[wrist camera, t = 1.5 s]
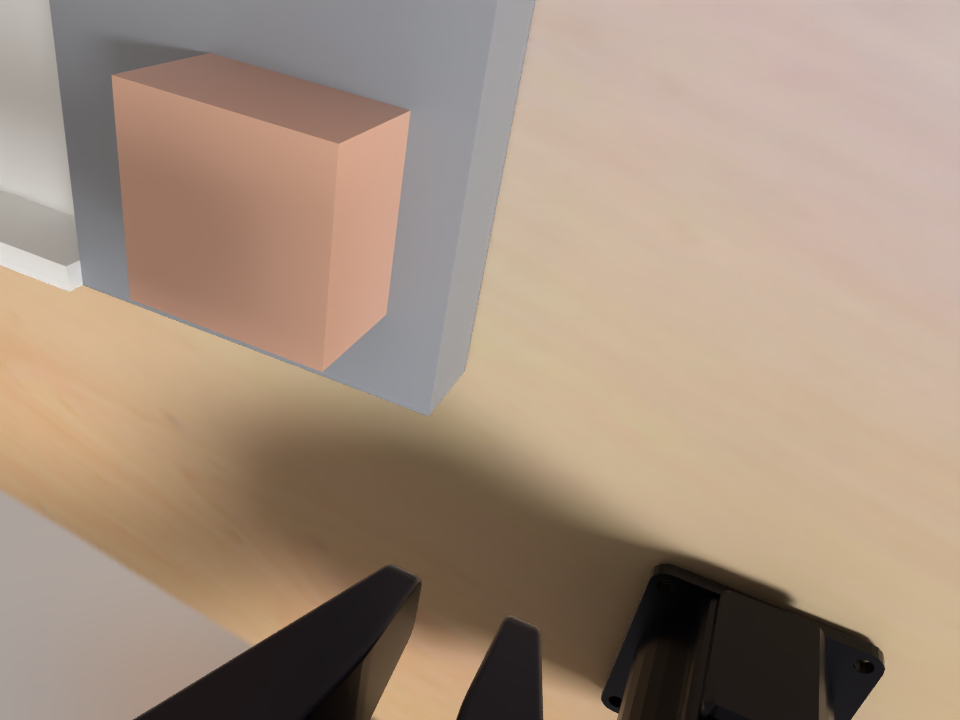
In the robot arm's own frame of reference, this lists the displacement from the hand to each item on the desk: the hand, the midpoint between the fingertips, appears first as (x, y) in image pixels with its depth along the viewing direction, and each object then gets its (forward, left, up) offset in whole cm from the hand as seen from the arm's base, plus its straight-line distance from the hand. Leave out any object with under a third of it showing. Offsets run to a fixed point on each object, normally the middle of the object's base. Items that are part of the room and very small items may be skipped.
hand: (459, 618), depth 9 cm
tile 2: (0, +8, -10) cm, 12 cm away
